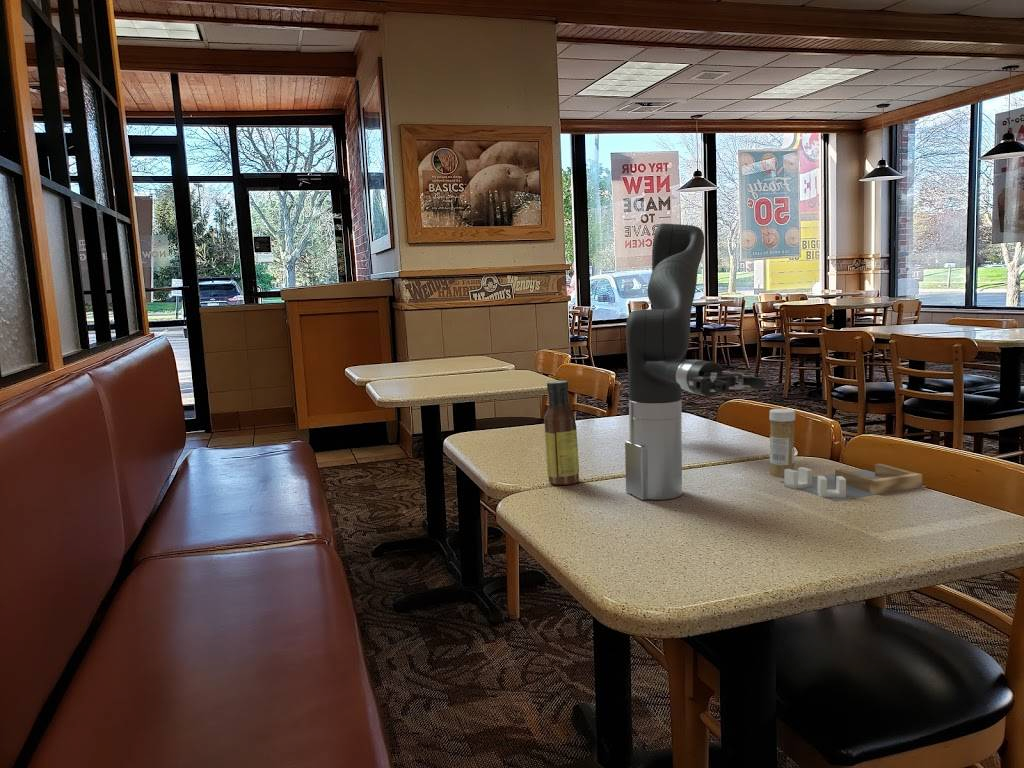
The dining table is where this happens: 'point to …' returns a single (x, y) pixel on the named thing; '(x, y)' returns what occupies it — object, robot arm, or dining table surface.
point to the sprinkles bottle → (781, 441)
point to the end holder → (882, 479)
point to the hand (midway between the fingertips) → (745, 385)
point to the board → (827, 484)
